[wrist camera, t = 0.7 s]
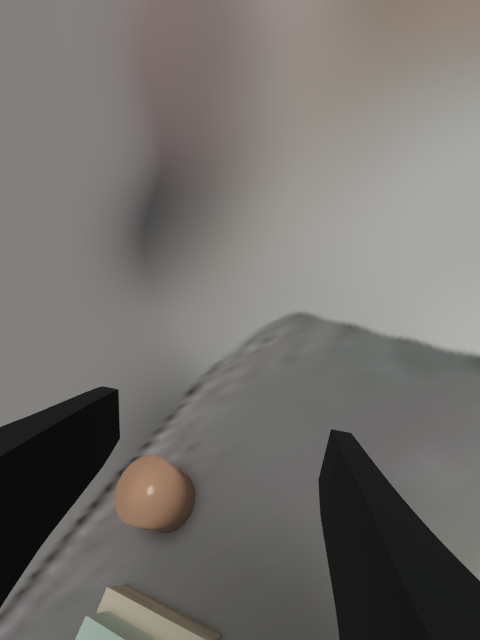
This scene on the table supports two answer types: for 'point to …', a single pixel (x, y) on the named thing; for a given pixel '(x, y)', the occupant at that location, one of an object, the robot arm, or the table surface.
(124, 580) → the table surface
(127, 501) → the terracotta cylinder
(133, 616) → the tower base
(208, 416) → the table surface
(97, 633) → the tower top
